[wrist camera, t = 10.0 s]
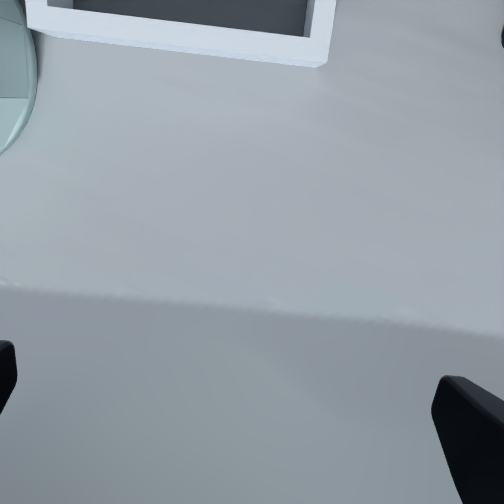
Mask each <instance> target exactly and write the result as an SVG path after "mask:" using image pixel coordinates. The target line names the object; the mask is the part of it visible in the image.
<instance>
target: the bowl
mask: <svg viewBox="0 0 504 504" xmlns="http://www.w3.org/2000/svg"><path fill="white" fill-rule="evenodd" d="M36 89H37V59H36V51H35V45H34V41H33V37H32V33H31V30H30V28H27V19H26V16H25V13H24V11H23V9H22V7H21V5H20V3H19V1H18V0H0V155H1V154H2V153H3V152H4V151H6V150H7V149H8V148H9V147H10V146H11V145H12V144H13V143H14V142H15V140H16V139H17V138H18V137H19V135H20V134H21V132H22V131H23V129H24V127H25V126H26V124H27V122H28V119H29V117H30V114H31V112H32V109H33V105H34V101H35V97H36Z"/></svg>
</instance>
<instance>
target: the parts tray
mask: <svg viewBox="0 0 504 504" xmlns="http://www.w3.org/2000/svg"><path fill="white" fill-rule="evenodd" d="M25 2H26V15H27V28H30V29H33V30H36V31H39V32H42V33H45V34H48V35H51V36H54V37H57V38H66V39H74V40H83V41H91V42H100V43H108V44H117V45H126V46H134V47H143V48H151V49H160V50H168V51H177V52H185V53H194V54H202V55H211V56H219V57H228V58H236V59H245V60H254V61H262V62H271V63H279V64H288V65H296V66H305V67H313V68H317V67H319V66H321V65H323V64H325V63H327V59H328V52H329V46H330V39H331V33H332V26H333V20H334V13H335V7H336V0H308V2H307V10H306V17H305V25H304V32H303V37H299V36H290V35H282V34H274V33H265V32H257V31H249V30H241V29H232V28H224V27H216V26H208V25H199V24H191V23H183V22H174V21H166V20H158V19H150V18H141V17H133V16H125V15H116V14H108V13H100V12H92V11H83V10H75V9H73V0H25Z"/></svg>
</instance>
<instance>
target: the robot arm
mask: <svg viewBox="0 0 504 504" xmlns="http://www.w3.org/2000/svg"><path fill="white" fill-rule="evenodd" d="M502 46H503V48H504V33H503V36H502ZM16 382H17V366H16V357H15V348H14V345H13V343H12V342H10V341H6V340H0V414H1V412H2V411H3V409H4V407H5V405H6V403H7V401H8V399H9V397H10V395H11V393H12V391H13V389H14V387H15V385H16ZM431 414H432V419H433V422H434V425H435V427H436V431H437V434H438V437H439V440H440V442H441V446H442V448H443V451H444V455H445V458H446V460H447V464H448V467H449V469H450V473H451V476H452V478H453V481H454V484H455V486H456V489H457V491H458V494H459V496H460V498H461V501H462V503H463V504H504V401H503V400H501V399H500V398H498V397H496V396H495V395H493V394H491V393H490V392H488V391H486V390H485V389H483V388H481V387H480V386H478V385H476V384H474V383H473V382H471V381H470V380H468V379H466V378H464V377H461V376H450V375H445V376H443V377H442V378H441V379H440V381H439V384H438V387H437V390H436V393H435V396H434V400H433V403H432V407H431Z"/></svg>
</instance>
